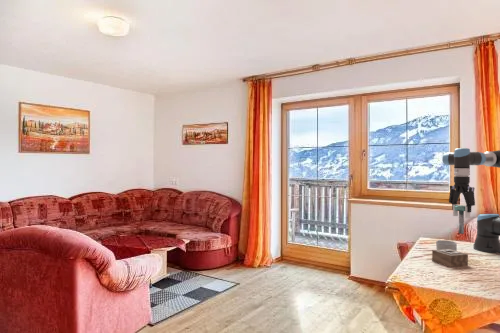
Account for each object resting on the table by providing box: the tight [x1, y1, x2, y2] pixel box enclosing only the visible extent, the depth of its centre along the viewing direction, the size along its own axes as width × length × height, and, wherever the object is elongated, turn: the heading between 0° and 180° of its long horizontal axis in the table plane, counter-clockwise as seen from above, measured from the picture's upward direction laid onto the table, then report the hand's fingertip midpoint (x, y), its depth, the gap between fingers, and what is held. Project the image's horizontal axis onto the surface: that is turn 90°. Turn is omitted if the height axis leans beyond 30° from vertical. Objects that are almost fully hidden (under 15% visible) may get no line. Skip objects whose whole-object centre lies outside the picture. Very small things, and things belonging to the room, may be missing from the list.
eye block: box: [431, 249, 469, 268], centre depth 187 cm, size 12×12×6 cm
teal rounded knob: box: [454, 204, 466, 235], centre depth 190 cm, size 7×7×15 cm
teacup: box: [435, 239, 458, 251], centre depth 205 cm, size 14×11×8 cm
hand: (461, 216), depth 190 cm, fingers closed on teal rounded knob, 7 cm apart
